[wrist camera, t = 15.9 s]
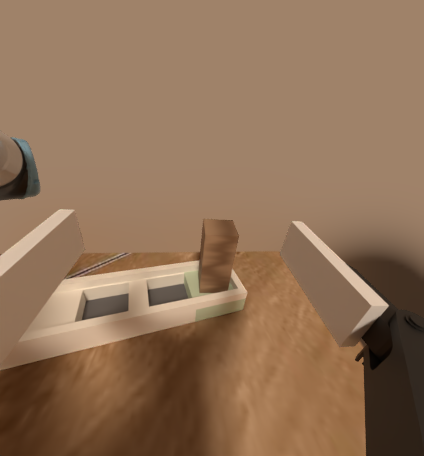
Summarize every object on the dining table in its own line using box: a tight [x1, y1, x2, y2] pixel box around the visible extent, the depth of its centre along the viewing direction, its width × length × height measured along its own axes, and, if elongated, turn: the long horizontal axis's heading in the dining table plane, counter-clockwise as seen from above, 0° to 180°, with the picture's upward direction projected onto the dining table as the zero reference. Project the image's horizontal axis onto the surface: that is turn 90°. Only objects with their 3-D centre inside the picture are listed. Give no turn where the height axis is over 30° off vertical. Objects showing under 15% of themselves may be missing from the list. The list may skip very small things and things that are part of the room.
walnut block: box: [198, 219, 239, 293], centre depth 34 cm, size 5×5×12 cm
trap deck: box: [0, 260, 247, 370], centre depth 33 cm, size 36×10×4 cm, turn 110°
